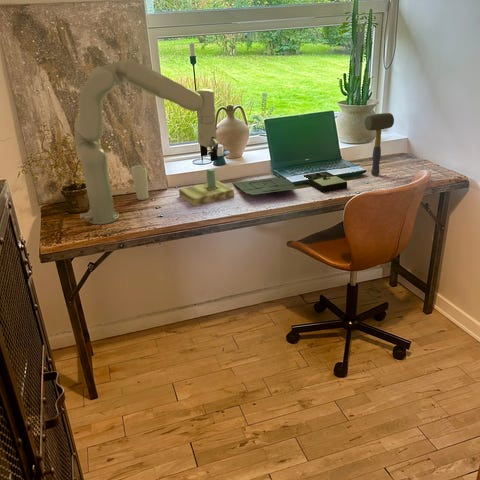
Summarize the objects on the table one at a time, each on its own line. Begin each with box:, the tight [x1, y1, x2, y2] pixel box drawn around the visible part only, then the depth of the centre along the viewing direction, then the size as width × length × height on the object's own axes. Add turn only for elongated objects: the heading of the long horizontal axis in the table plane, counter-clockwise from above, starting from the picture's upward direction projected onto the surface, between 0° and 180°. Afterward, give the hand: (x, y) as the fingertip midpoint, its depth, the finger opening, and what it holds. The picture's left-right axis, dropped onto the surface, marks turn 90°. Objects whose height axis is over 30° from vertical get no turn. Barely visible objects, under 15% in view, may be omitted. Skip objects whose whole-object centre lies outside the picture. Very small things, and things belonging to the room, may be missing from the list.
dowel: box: [206, 168, 216, 190], centre depth 218 cm, size 4×4×12 cm
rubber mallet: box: [364, 112, 395, 177], centre depth 229 cm, size 12×8×30 cm, turn 108°
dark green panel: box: [233, 176, 296, 196], centre depth 223 cm, size 24×30×4 cm
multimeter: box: [303, 170, 348, 194], centre depth 225 cm, size 13×19×5 cm
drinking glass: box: [130, 164, 150, 201], centre depth 217 cm, size 7×7×15 cm
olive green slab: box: [178, 180, 235, 207], centre depth 218 cm, size 20×16×4 cm
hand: (209, 158), depth 213 cm, fingers open, 9 cm apart
